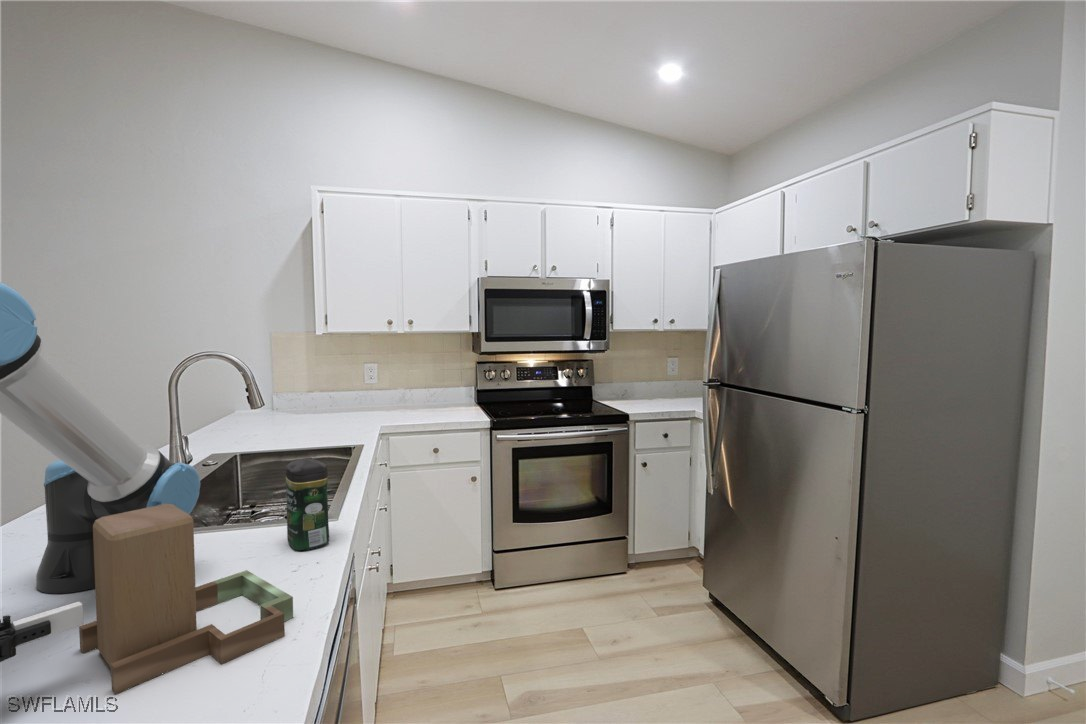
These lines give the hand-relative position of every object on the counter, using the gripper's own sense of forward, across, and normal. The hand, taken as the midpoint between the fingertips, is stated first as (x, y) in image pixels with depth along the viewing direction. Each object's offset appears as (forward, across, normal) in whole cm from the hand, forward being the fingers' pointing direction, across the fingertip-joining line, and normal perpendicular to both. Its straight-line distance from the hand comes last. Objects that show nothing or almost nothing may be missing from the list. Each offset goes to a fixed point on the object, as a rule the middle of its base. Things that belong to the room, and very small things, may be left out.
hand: (81, 612), depth 72 cm
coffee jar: (+43, -20, -9) cm, 48 cm away
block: (+7, 0, -9) cm, 12 cm away
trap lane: (+12, 0, -9) cm, 15 cm away
